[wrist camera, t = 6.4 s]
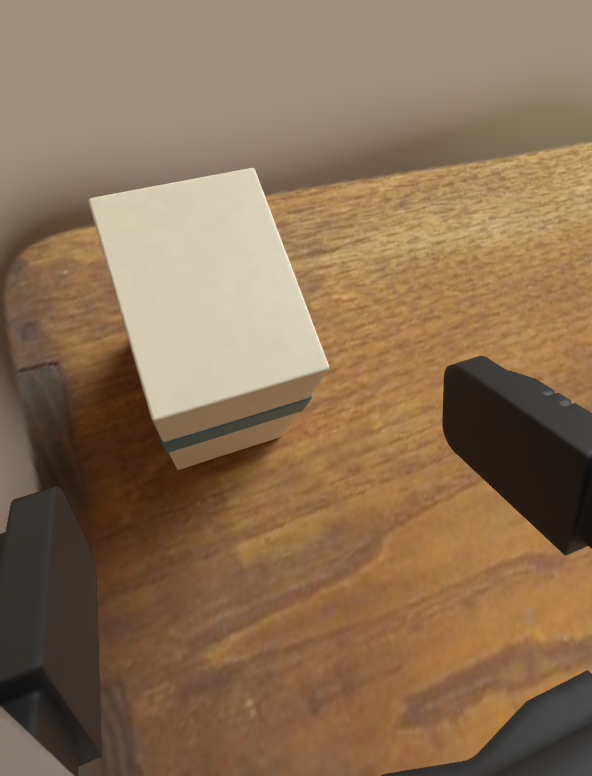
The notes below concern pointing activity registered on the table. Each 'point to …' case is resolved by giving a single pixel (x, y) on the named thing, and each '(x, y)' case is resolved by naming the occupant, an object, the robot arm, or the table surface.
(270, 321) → the box
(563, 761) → the robot arm
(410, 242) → the table surface
